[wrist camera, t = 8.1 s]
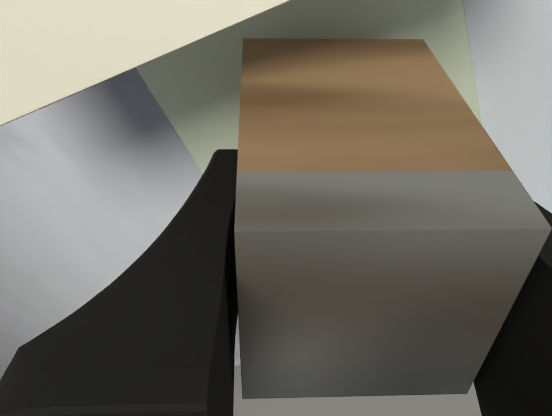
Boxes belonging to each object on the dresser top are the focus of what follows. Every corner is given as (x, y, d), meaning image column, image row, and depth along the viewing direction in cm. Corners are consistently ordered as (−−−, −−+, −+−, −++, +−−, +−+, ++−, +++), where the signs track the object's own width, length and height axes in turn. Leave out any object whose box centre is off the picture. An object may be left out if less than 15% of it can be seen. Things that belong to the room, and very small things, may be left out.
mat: (483, 158, 17) (487, 165, 17) (246, 235, 19) (246, 242, 19) (436, -132, 12) (442, -131, 11) (111, 18, 14) (107, 24, 13)
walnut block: (392, 182, 15) (467, 393, 10) (246, 183, 15) (242, 399, 10) (423, 39, 12) (552, 229, 7) (243, 38, 12) (234, 231, 7)
